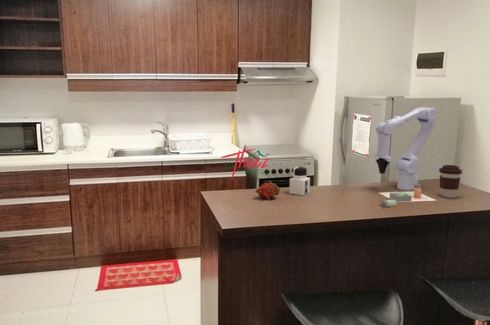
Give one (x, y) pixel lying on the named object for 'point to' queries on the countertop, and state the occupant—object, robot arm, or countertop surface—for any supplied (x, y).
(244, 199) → the countertop surface
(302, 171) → the container
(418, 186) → the cylinder
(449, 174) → the coffee cup
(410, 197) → the white sorting board
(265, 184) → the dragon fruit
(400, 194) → the button
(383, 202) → the sage marker lying
